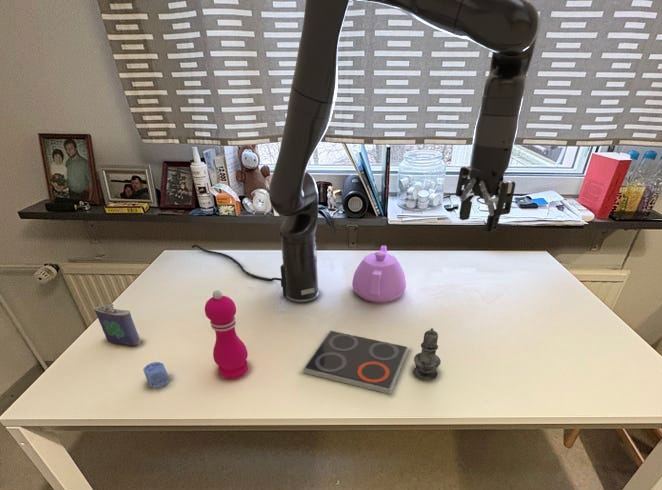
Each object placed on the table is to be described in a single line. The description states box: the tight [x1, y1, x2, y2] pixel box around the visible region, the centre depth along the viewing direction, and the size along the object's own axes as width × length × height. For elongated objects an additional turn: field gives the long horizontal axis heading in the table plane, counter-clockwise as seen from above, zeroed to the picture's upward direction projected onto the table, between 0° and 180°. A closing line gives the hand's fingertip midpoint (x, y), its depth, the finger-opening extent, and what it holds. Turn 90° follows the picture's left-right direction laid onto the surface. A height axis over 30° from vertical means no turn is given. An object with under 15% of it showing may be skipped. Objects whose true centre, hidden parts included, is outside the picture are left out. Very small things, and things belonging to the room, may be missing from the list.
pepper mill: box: [204, 290, 249, 380], centre depth 85 cm, size 7×7×20 cm
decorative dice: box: [142, 361, 170, 389], centre depth 87 cm, size 4×4×4 cm
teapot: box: [351, 245, 407, 303], centre depth 117 cm, size 22×16×12 cm
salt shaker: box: [413, 327, 442, 381], centre depth 88 cm, size 6×6×12 cm
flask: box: [94, 302, 142, 348], centre depth 96 cm, size 9×3×11 cm, turn 74°
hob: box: [302, 330, 409, 395], centre depth 94 cm, size 20×16×2 cm
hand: (476, 225), depth 87 cm, fingers open, 8 cm apart
